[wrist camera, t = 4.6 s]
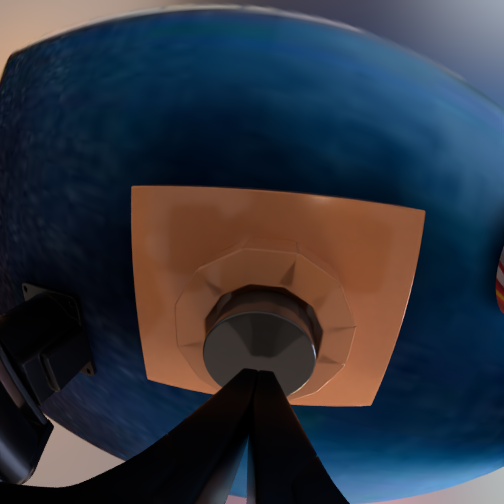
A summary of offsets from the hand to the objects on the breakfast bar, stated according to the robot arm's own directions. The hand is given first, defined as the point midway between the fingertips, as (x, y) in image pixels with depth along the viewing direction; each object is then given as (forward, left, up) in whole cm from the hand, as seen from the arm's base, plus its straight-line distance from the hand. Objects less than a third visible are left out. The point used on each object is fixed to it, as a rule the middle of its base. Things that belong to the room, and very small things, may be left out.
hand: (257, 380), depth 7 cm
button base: (0, 0, -6) cm, 6 cm away
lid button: (0, 0, -3) cm, 3 cm away
